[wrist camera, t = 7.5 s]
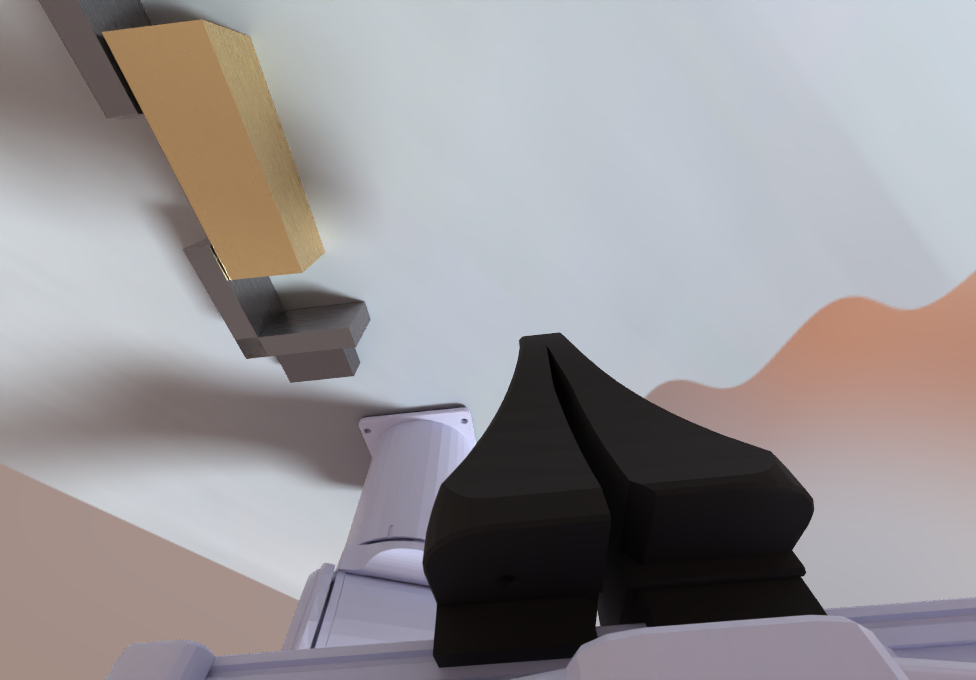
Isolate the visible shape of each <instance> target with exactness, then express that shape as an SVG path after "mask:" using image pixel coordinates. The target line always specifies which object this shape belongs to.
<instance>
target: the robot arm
mask: <svg viewBox="0 0 976 680" xmlns="http://www.w3.org/2000/svg"><path fill="white" fill-rule="evenodd" d="M519 344H520V350H519V356H518V361H517V365H516V368H515V372H514V375H513V378H512V380H511V383H510V386H509V388H508V391H507V393H506V395H505V398H504V400H503V402H502V404H501V406H500V408H499V410H498V411H497V413H496V415H495V417H494V418H493V420H492V422H491V423H490V425H489V427H488V428H487V430H486V431H485V433H484V434H483V436H482V437H481V438H480V440H479V441H478V442H477V444H476V439H475V434H474V429H473V423H472V418H471V413H470V410H469V409H467V408H453V409H443V410H433V411H423V412H413V413H404V414H394V415H384V416H374V417H365V418H362V419H360V421H359V424H358V425H359V428H360V431H361V433H362V435H363V438H364V440H365V442H366V445H367V447H368V449H369V452H370V454H371V457H372V461H371V464H370V467H369V471H368V474H367V477H366V480H365V484H364V487H363V490H362V493H361V496H360V500H359V503H358V506H357V509H356V513H355V516H354V519H353V522H352V525H351V529H350V532H349V535H348V538H347V542H346V545H345V548H344V550H343V553H342V555H341V558H340V560H339V563H338V565H337V568H336V570H335V572H334V568H335V565H333V564H329V563H324V564H323V565H322V566H321V569H317V570H316V571H315V572H313V573H312V574H310V575H309V577H308V579H307V582H306V584H305V587H304V590H303V592H302V595H301V597H300V600H299V603H298V606H297V608H296V611H295V614H294V616H293V619H292V622H291V624H290V627H289V630H288V633H287V635H286V638H285V641H284V643H283V646H282V649H281V651H275V652H262V653H249V654H237V655H224V656H214V654H213V653H212V651H211V650H210V649H209V648H207V647H206V646H205V645H203V644H201V643H198V642H195V641H190V640H173V641H160V642H147V643H134V644H131V645H129V646H127V647H126V648H125V649H124V651H123V652H122V654H121V655H120V657H119V658H118V660H117V661H116V663H115V664H114V666H113V667H112V669H111V670H110V672H109V673H108V675H107V676H106V678H105V679H104V680H976V597H973V598H961V599H948V600H934V601H921V602H909V603H896V604H883V605H870V606H856V607H844V608H831V609H823V608H822V606H821V605H820V603H819V602H818V601H817V599H816V598H815V597H814V595H813V594H812V592H811V591H810V589H809V588H808V587H807V585H806V584H805V582H804V581H803V579H802V578H801V576H804V575H805V573H806V571H805V567H804V566H803V564H802V563H801V562H800V560H799V559H798V558H797V556H796V555H795V554H794V552H793V551H792V549H793V548H794V546H795V545H796V543H797V542H798V540H799V539H800V537H801V535H802V534H803V532H804V531H805V529H806V528H807V526H808V524H809V522H810V520H811V517H812V515H813V512H814V504H813V498H812V497H811V496H810V495H809V493H808V492H807V491H806V489H805V488H804V487H803V486H802V485H801V484H800V483H799V481H798V480H797V479H796V478H795V477H794V476H793V475H792V473H791V472H790V471H789V470H788V469H787V468H786V467H785V466H784V464H782V462H781V461H779V459H778V458H777V457H776V456H775V455H774V454H773V453H772V452H771V451H768V450H765V449H762V448H759V447H756V446H753V445H750V444H747V443H744V442H741V441H739V440H736V439H733V438H730V437H727V436H724V435H721V434H719V433H716V432H713V431H711V430H709V429H707V428H704V427H702V426H699V425H697V424H694V423H692V422H690V421H688V420H685V419H683V418H681V417H679V416H677V415H675V414H673V413H670V412H668V411H667V410H665V409H663V408H661V407H659V406H657V405H655V404H653V403H651V402H649V401H648V400H646V399H644V398H642V397H641V396H639V395H637V394H636V393H634V392H633V391H631V390H629V389H628V388H626V387H625V386H623V385H622V384H620V383H619V382H617V381H616V380H614V379H613V378H612V377H610V376H609V375H608V374H606V373H605V372H604V371H602V370H601V369H600V368H599V367H598V366H596V365H595V364H594V363H593V362H592V361H590V360H589V359H588V358H587V357H586V356H585V355H584V354H582V353H581V352H580V351H579V350H578V349H577V348H576V347H575V346H574V345H573V344H572V343H571V342H570V341H569V340H568V339H567V338H566V337H565V336H564V335H562V334H561V333H551V334H542V335H533V336H523V337H522V338H521V339H520V340H519ZM462 419H467V420H462ZM366 428H367V429H366ZM368 429H370V430H368ZM597 610H598V615H599V621H600V626H598V627H595V625H596V617H597Z"/></svg>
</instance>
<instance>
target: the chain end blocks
mask: <svg viewBox="0 0 976 680" xmlns="http://www.w3.org/2000/svg"><path fill="white" fill-rule="evenodd" d="M39 2H40V3H41V5H42V7H43V9H44V10H45V12H46V14H47V15H48V17H49V19H50V21H51V22H52V24H53V26H54V28H55V29H56V31H57V33H58V34H59V36H60V38H61V40H62V41H63V43H64V45H65V47H66V48H67V50H68V52H69V53H70V55H71V57H72V59H73V60H74V62H75V64H76V66H77V67H78V69H79V71H80V72H81V74H82V76H83V78H84V79H85V81H86V83H87V85H88V86H89V88H90V90H91V91H92V93H93V95H94V97H95V98H96V100H97V102H98V104H99V105H100V107H101V109H102V110H103V112H104V114H105V116H106V117H107V118H146V117H145V115H144V113H143V111H142V109H141V107H140V105H139V103H138V101H137V100H136V98H135V96H134V94H133V92H132V90H131V88H130V86H129V84H128V82H127V80H126V78H125V76H124V74H123V73H122V71H121V69H120V67H119V65H118V63H117V61H116V59H115V57H114V55H113V53H112V51H111V49H110V47H109V46H108V44H107V42H106V40H105V38H104V36H103V34H102V32H106V31H114V30H121V29H129V28H137V27H145V26H151V24H150V22H149V20H148V18H147V16H146V13H145V11H144V9H143V7H142V5H141V3H140V1H139V0H39ZM183 250H184V252H185V254H186V256H187V257H188V259H189V261H190V262H191V264H192V266H193V268H194V269H195V271H196V273H197V275H198V276H199V278H200V280H201V281H202V283H203V285H204V287H205V288H206V290H207V292H208V294H209V295H210V297H211V299H212V300H213V302H214V304H215V306H216V307H217V309H218V311H219V313H220V314H221V316H222V318H223V319H224V321H225V323H226V325H227V326H228V328H229V330H230V332H231V333H232V335H233V337H234V338H235V340H236V342H237V344H238V345H239V347H240V349H241V351H242V352H243V354H244V356H245V357H246V359H249V358H258V357H267V356H277V358H278V360H279V362H280V363H281V365H282V367H283V369H284V371H285V373H286V375H287V377H288V379H289V381H290V383H292V382H302V381H311V380H321V379H330V378H339V377H349V376H354V375H355V373H356V370H357V368H358V366H359V364H360V361H359V358H358V355H357V353H356V350H355V347H356V346H357V344H358V342H359V340H360V338H361V336H362V335H363V333H364V331H365V329H366V327H367V325H368V323H369V321H370V317H369V314H368V311H367V307H366V304H365V302H357V303H348V304H340V305H331V306H322V307H314V308H305V309H296V310H287V311H284V308H283V306H282V304H281V302H280V300H279V298H278V296H277V293H276V291H275V289H274V287H273V285H272V283H271V281H270V278H269V276H265V277H255V278H245V279H236V280H230V279H229V277H228V275H227V273H226V271H225V269H224V268H223V266H222V264H221V262H220V260H219V258H218V256H217V254H216V252H215V250H214V248H213V246H212V244H211V242H210V241H209V239H205V240H203V241H201V242H198V243H196V244H194V245H192V246H189V247H187V248H185V249H183Z"/></svg>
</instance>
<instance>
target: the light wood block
mask: <svg viewBox="0 0 976 680" xmlns="http://www.w3.org/2000/svg"><path fill="white" fill-rule="evenodd" d="M102 34H103V36H104V38H105V40H106V42H107V44H108V46H109V47H110V49H111V51H112V53H113V55H114V57H115V59H116V61H117V63H118V65H119V67H120V69H121V71H122V73H123V74H124V76H125V78H126V80H127V82H128V84H129V86H130V88H131V90H132V92H133V94H134V96H135V98H136V100H137V101H138V103H139V105H140V107H141V109H142V111H143V113H144V115H145V117H146V119H147V121H148V123H149V125H150V127H151V129H152V130H153V132H154V134H155V136H156V138H157V140H158V142H159V144H160V146H161V148H162V150H163V152H164V154H165V156H166V157H167V159H168V161H169V163H170V165H171V167H172V169H173V171H174V173H175V175H176V177H177V179H178V181H179V183H180V185H181V186H182V188H183V190H184V192H185V194H186V196H187V198H188V200H189V202H190V204H191V206H192V208H193V210H194V212H195V213H196V215H197V217H198V219H199V221H200V223H201V225H202V227H203V229H204V231H205V233H206V235H207V237H208V239H209V241H210V242H211V244H212V246H213V248H214V250H215V252H216V254H217V256H218V258H219V260H220V262H221V264H222V266H223V268H224V269H225V271H226V273H227V275H228V277H229V279H230V280H236V279H245V278H255V277H265V276H274V275H284V274H294V273H303V272H304V271H305V270H306V269H307V268H308V267H309V266H311V265H312V264H313V263H314V262H315V261H316V260H317V259H318V258H320V257H321V256H322V255H323V254H324V253H325V250H324V247H323V245H322V242H321V239H320V236H319V233H318V230H317V227H316V224H315V222H314V219H313V216H312V213H311V210H310V207H309V204H308V202H307V199H306V196H305V193H304V190H303V187H302V184H301V181H300V179H299V176H298V173H297V170H296V167H295V164H294V161H293V158H292V156H291V153H290V150H289V147H288V144H287V141H286V138H285V136H284V133H283V130H282V127H281V124H280V121H279V118H278V115H277V113H276V110H275V107H274V104H273V101H272V98H271V95H270V92H269V90H268V87H267V84H266V81H265V78H264V75H263V72H262V70H261V67H260V64H259V61H258V58H257V55H256V52H255V49H254V47H253V44H252V41H251V38H250V36H247V35H244V34H241V33H239V32H236V31H233V30H230V29H228V28H225V27H222V26H219V25H216V24H214V23H211V22H208V21H205V20H202V19H200V20H192V21H185V22H177V23H169V24H161V25H153V26H145V27H137V28H129V29H121V30H114V31H106V32H102Z"/></svg>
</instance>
